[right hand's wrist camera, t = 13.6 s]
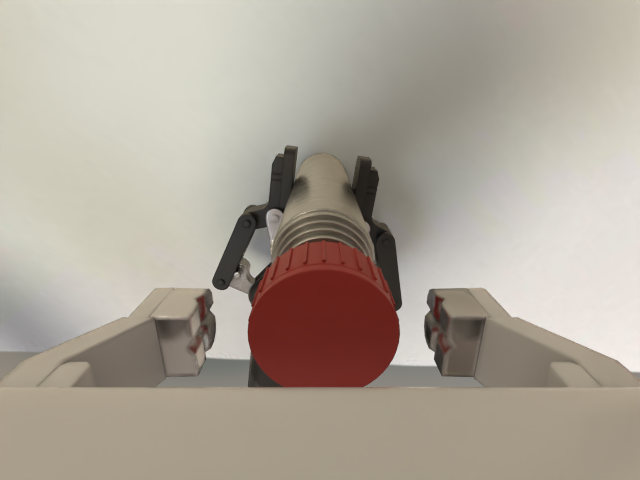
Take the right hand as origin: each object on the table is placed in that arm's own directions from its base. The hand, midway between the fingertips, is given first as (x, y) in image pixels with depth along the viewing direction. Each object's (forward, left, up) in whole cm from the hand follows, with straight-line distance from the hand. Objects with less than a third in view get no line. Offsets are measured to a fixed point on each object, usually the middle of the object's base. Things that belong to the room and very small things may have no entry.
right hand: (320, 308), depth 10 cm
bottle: (0, 0, -20) cm, 20 cm away
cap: (0, 0, +1) cm, 1 cm away
